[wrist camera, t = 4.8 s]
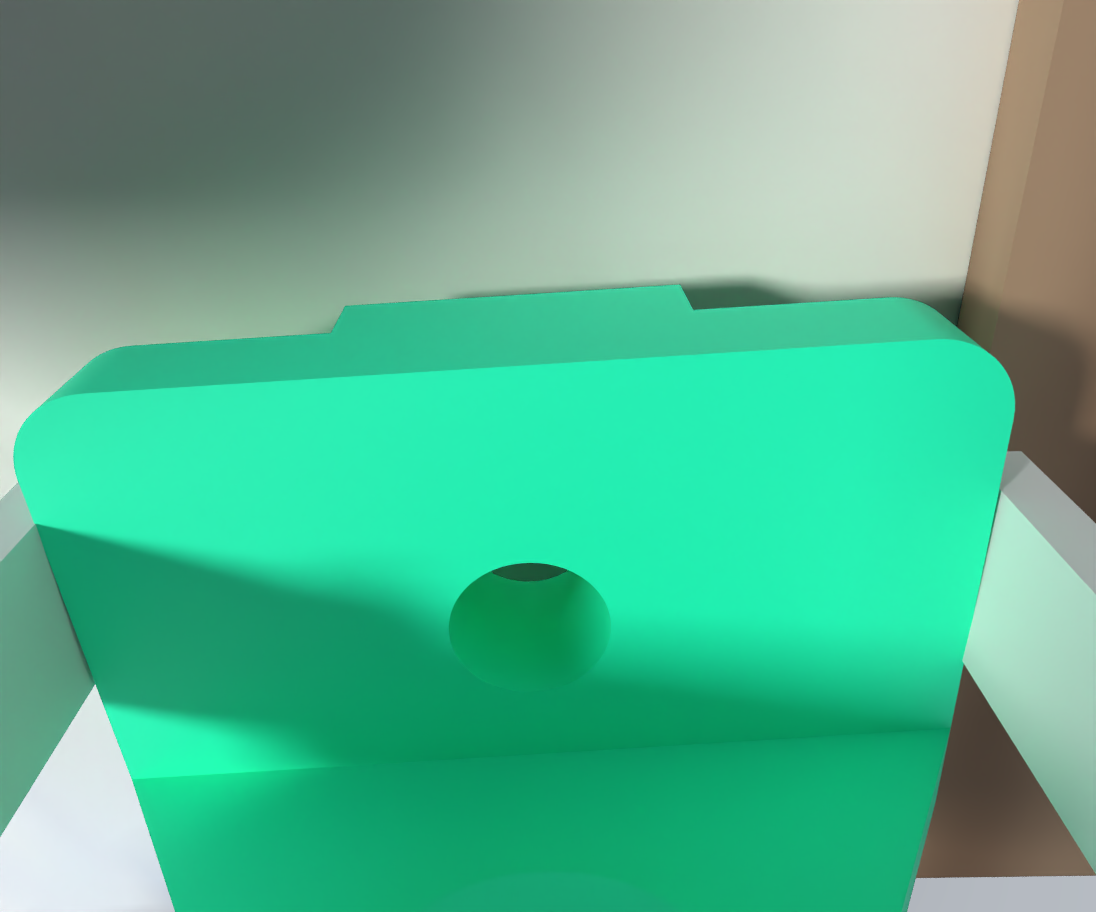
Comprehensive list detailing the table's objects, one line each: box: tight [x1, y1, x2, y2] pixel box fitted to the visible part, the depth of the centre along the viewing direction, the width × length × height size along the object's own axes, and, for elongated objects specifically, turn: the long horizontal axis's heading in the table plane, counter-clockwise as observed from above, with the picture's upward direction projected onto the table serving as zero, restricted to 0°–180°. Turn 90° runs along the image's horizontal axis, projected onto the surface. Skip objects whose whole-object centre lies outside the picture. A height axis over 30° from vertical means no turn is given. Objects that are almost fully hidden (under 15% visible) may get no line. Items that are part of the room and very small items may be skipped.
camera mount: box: [13, 284, 1015, 912], centre depth 10 cm, size 12×8×10 cm, turn 93°
